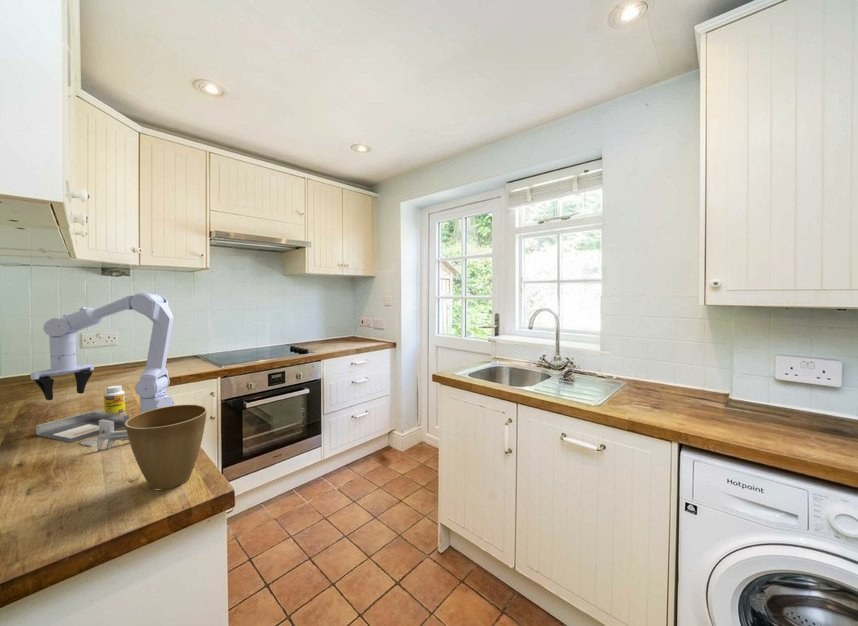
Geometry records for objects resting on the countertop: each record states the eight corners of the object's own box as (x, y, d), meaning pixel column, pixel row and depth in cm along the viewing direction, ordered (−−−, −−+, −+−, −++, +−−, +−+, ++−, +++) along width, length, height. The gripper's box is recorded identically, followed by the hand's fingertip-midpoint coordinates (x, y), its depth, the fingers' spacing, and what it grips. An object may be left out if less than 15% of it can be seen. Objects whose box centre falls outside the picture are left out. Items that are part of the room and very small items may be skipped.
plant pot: (121, 484, 78) (118, 416, 77) (197, 460, 89) (195, 400, 88) (136, 510, 68) (132, 433, 68) (218, 479, 80) (216, 413, 79)
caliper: (98, 453, 93) (97, 431, 93) (97, 452, 94) (96, 430, 94) (185, 430, 110) (184, 411, 109) (184, 429, 110) (183, 410, 110)
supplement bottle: (102, 418, 119) (101, 389, 119) (106, 413, 124) (105, 386, 123) (124, 415, 122) (122, 387, 122) (127, 410, 127) (125, 384, 126)
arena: (129, 424, 114) (128, 415, 114) (70, 442, 99) (70, 432, 99) (96, 418, 119) (96, 409, 118) (36, 435, 104) (35, 425, 104)
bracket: (103, 436, 104) (102, 419, 103) (114, 439, 102) (113, 421, 102) (80, 444, 98) (79, 425, 98) (91, 446, 97) (91, 428, 97)
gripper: (84, 350, 118) (85, 389, 118) (23, 358, 104) (26, 401, 105) (97, 351, 115) (99, 391, 116) (37, 359, 102) (39, 403, 102)
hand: (65, 396), depth 110 cm, fingers open, 7 cm apart
